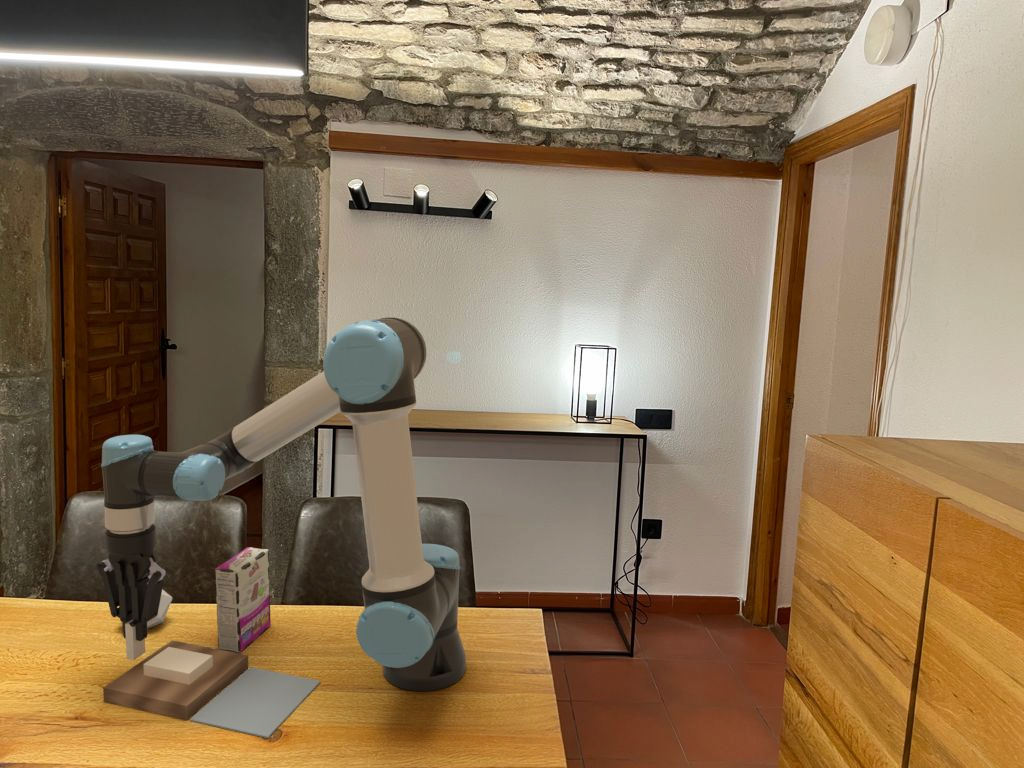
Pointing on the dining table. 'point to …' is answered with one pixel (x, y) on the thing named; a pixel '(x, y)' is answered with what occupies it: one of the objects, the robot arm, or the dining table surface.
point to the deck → (175, 684)
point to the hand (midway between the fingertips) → (136, 655)
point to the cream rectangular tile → (178, 665)
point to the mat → (256, 702)
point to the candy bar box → (242, 599)
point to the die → (161, 610)
